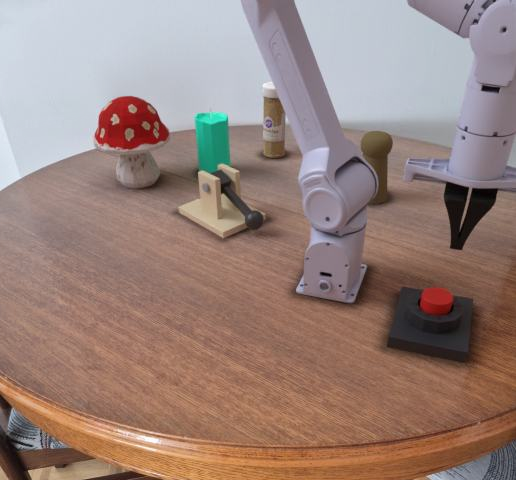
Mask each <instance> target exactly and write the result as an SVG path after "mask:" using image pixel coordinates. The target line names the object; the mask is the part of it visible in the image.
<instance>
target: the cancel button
mask: <svg viewBox="0 0 516 480" xmlns="http://www.w3.org/2000/svg"><path fill="white" fill-rule="evenodd" d="M423 290H424V291H423V293H422V297H421V301H420V308H421V309H422V311H424V312H426V313H428V314H431V315H437V316H441V315H447V314H448V313H449V312H450V310H451V306H452V302H453V295H454V294H453V293H452V292H451V291H449V290H448V289H446V288H443V287H437V286H432V287H427V288H425V289H423Z"/></svg>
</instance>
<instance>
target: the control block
mask: <svg viewBox="0 0 516 480" xmlns="http://www.w3.org/2000/svg"><path fill="white" fill-rule="evenodd" d="M424 290H425V289H421V288H415V287H409V286H404V285H403V286H401V289H400V293H399V296H398V299H397V304H396V308H395V311H394V314H393V318H392V322H391V326H390V329H389V332H388V333H389V334H388V336H387V337H388V338H387V342H386V348H390V349H396V350H399V351H404V352H409V353H415V354H419V355H423V356H428V357H434V358H438V359H443V360H447V361H452V362H456V363H457V362H458V363H462V364H465V363H466V361H467V357H468V354H469V350H470V349H469V348H470V339H471V337H470V336H471V327H472V318H473V316H472V315H473V308H474V307H473V306H474V298H471V297H466V296H460V295H454V294H452V295H453V302H452V306H451V310H450V312H449V313H448V314H447V315H441V316H437V315H431V314H428V313H426V312H424V311H422V309H421V308H420V301H421V297H422V293H423V291H424Z"/></svg>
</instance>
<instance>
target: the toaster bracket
mask: <svg viewBox="0 0 516 480" xmlns="http://www.w3.org/2000/svg"><path fill="white" fill-rule="evenodd" d="M220 169H221V170H222V171H223V172H224V173H225V174H226V175H227V176H228V177H229V178H230V179H231V184H230V188H231V189H232V190H233V191H234V192H235V193H236V194H237V195H238V196H239V197H240V198H241V199H242V193H241V192H242V191H241V171H240V170H238V169H236V168H233V167H231V166H230V167H229V166H227V165H225V164H223V163H222V164H219V165H218V170H220ZM197 179H198V188H199V198H197V199H193V200H192V201H189V202H186V203H184V204H181V205H179V206H178V213H179V214H181V215H182V216H184V217H185V218H187V219H189V220H191V221H192V222H194V223H196V224H197V225H200V226H201V227H203V228H205V229H207V230H208V231H210V232H212V233H213V234H215V235H217V236H218V237H220V238H222V239H225V238H227V237H228V238H229V237H230V236H232V235H234V234H236V233H239V232H241V231H243V230H246V229H249V228H248V227H247V226H246V224H245V216H244V215H243V214H242V213H241V212H240V211H239V210H238V209H237V207H236V206H235V205H234V204H233V203H232V202H231V201H230V200H229V199H228V198H227V197H226V196H225V194H221V186H220V178H217V177H215V176H213V175H211V174H209V173H207V172H205V171H203V170H202V171H200V172H199V171H198V172H197ZM245 204H246V205H247V206H248V207H249V208H250V209H251V210H257V211H259V212H261V213H262V215H263V217H264V221H266V218H267V214H266V213H265V212H264V211H261V210H259V209H257V208H255V207H253V206H252V205H249V204H248V203H245Z"/></svg>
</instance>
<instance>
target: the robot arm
mask: <svg viewBox="0 0 516 480" xmlns="http://www.w3.org/2000/svg"><path fill="white" fill-rule="evenodd" d="M406 3H407V5H408V6H409V7H410V8H412V9H414V10H415V11H417V12H418V13H420V14H422V15H424V16H425V17H426V18H428V19H430V20H431V21H433V22H435V23H437V24H439V25H440V26H442V27H443V28H445V29H447V30H449V31H450V32H452V33H453V34H455V35H457V36H459V37H460V38H462V39H469V44H470V45H469V46H470V47H471V51H472V52H473V57H472V62H471V67H470V70H469V74H468V76H467V80H466V83H465V88H464V93H463V97H462V101H461V105H460V110H459V111H460V112H459V115H458V120H457V125H456V128H455V133H454V138H453V143H452V147H451V152H450V156H449V157H448V158H415V157H408V158H407V159H406V162H405V165H404V170H403V177H402V181H403V182H407V183H412V182H414V181H419V182H427V183H433V184H434V183H436V184H443V185H445V188H444V192H443V201H444V206H445V207H446V211H447V212H446V213H447V215H448V221H449V222H448V223H449V229H450V244H449V249H450V250H457V251H463V249H464V246H465V244H466V242H467V240H468V239H469V237H470V235H471V234H472V232H473V230H474V229H475V228H476V226H477V225H478V224H479V223H480V221H481V220H483V218H484V217H485V216H486V215H487V213H488V212H490V211H491V210H492V209H493V208H494V206H495V204H496V201H497V197H498V196H497V195H498V192H503V193H510V194H511V193H512V194H516V166H511V165H508V162H509V160H510V156H511V152H512V149H513V145H514V142H515V138H516V0H406ZM240 4H241V7H242V11H243V13H244V15H245V18H246V20H247V23H248V25H249V27H250V30H251V32H252V35H253V39H254V40H255V42H256V45H257V47H258V50H259V52H260V54H261V57H262V60H263V62H264V65H265V67H266V69H267V72H268V74H269V76H270V79H271V82H273V84H274V87H275V89H276V92H277V94H278V96H279V99H280V101H281V104H282V106H283V109H284V111H285V114H286V119H287V121H288V123H289V126H290V128H291V131H292V134H293V135H294V138H295V141H296V144H297V146H298V148H299V150H300V153H301V156H302V160H301V165H300V168H299V173H298V178H297V182H298V185H299V187H300V190H301V194H302V210H303V214H304V216H305V218H306V219H307V221H308V223H310V233H309V245H308V246H307V248H306V250H305V254H304V262H303V263H304V265H303V275H302V277H301V279H300V281H299V283H298V284H297V287H296V288H295V292H296V293H297V294H299V295H303V296H304V295H305V296H309V297H314V298H319V299H320V298H321V299H325V300H330V301H334V302H335V301H336V302H339V303H340V302H341V303H345V304H354V303H355V301H356V300H357V299H356V298H357V296H358V294H359V291H360V287H361V286H362V283H363V280H364V277H365V275H366V272H367V269H368V265H367V264H365V263H362V262H363V254H364V246H365V240H366V239H365V238H366V233H367V232H366V231H367V223H368V213H367V210H368V205H369V204H368V203H369V202H370V201H372V200H373V199H374V197H375V196H376V194H377V191H378V186H379V183H378V177H377V174H376V172H375V170H374V169H373V167H372V166H371V165H370V164H369V163H368V162H367V161H366V160H365V159H364V157H363V152H362V151H361V147H360V146H359V145H358V144H356V143H355V142H353V141H352V140H350V139H348V138H347V137H346V136H345V134H344V131H343V128H342V126H341V123H340V121H339V118H338V115H337V112H336V109H335V107H334V105H333V102H332V99H331V96H330V94H329V91H328V88H327V85H326V83H325V80H324V77H323V75H322V72H321V70H320V66H319V64H318V61H317V59H316V56H315V53H314V51H313V48H312V45H311V42H310V40H309V37H308V34H307V32H306V29H305V27H304V24H303V22H302V19H301V16H300V13H299V11H298V8H297V5H296V1H295V0H240ZM470 188H471V191H470ZM469 192H470V195H469ZM468 195H469V199H468ZM467 200H468V204H467ZM466 205H467V206H466ZM466 207H467V208H466ZM465 210H466V212H465ZM464 213H465V215H464ZM463 216H464V218H463Z"/></svg>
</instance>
